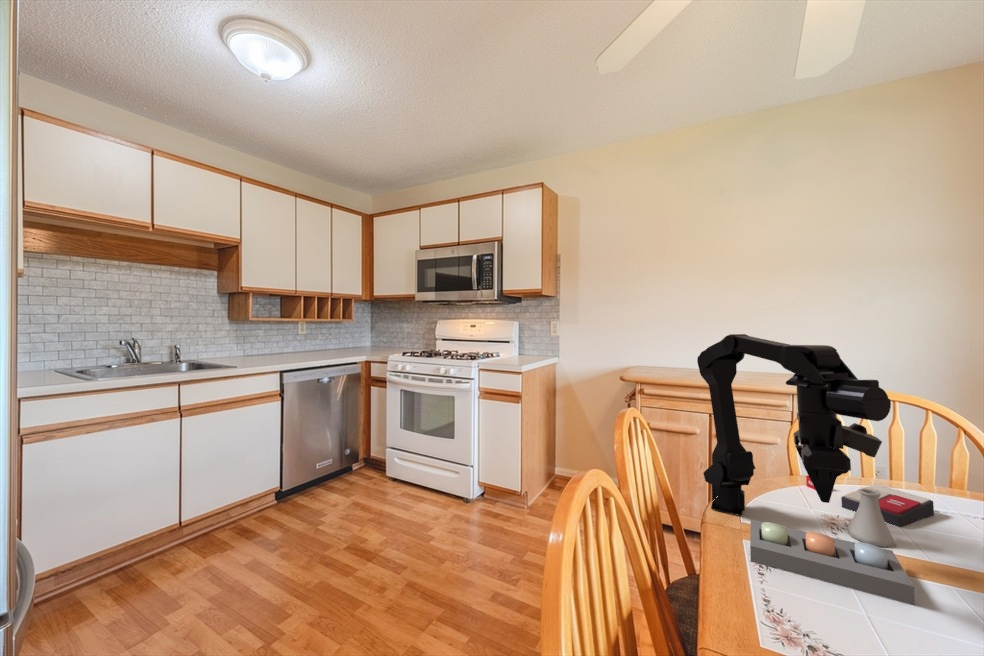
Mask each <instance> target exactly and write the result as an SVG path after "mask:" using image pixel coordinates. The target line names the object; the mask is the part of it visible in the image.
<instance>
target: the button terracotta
mask: <svg viewBox="0 0 984 656" xmlns="http://www.w3.org/2000/svg"><path fill="white" fill-rule="evenodd" d="M806 532H807V533H806V551H809V552H813V553H818V554H822V555H826V556H830V557H834V558H835V541H834V539H833V538H834V537H832V536H829V535H827V534H824V533H821V532H817V531H806ZM831 537H832V538H831Z"/></svg>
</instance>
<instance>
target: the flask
mask: <svg viewBox="0 0 984 656" xmlns="http://www.w3.org/2000/svg"><path fill="white" fill-rule="evenodd" d="M858 490H859V492H860V493H861V499H860V504H859V507H858V509H857V511H856V512H854V516H853V518H852V519H851V521H850V522H849V524H848V526H847V528H846V531H847V533H848V535H849V536H850V537H852V538H854V539H856V540H858V541H860V542H862V543H868V544H872V545H875V546H878V547H882V546H883V548H884V547H886V546H887V547H896V546H897V545H896V542H895V540H894V538H893V535H892V534H891V531H890V530H889V528H888V524H887V523H885V521H884V518H883V516H882V514H881V510H880V507H879V497H880V496H881V495H880V493H879V492H877V491H874V490H870V489H862V488H858Z"/></svg>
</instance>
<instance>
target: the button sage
mask: <svg viewBox="0 0 984 656" xmlns="http://www.w3.org/2000/svg"><path fill="white" fill-rule="evenodd" d="M786 528H787V527H786ZM786 528H785V526H783V525H781V524H779V523H776V522H775V523H774V522H770V521H768V522H767V521H766V522H765V521H764V522H763V523H762V540H763V541H767V542H772V543H776V544H780V545H784V546H788V530H787V529H786Z"/></svg>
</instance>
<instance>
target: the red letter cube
mask: <svg viewBox="0 0 984 656" xmlns="http://www.w3.org/2000/svg"><path fill="white" fill-rule="evenodd" d="M805 478H806V479H805V480H806V482H805V483H806V487H808V488H810V489H812V490H814V491H816V490H815V488H814V485H813V484H812V482H811V479H810V477H809V475H806V477H805Z"/></svg>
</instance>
